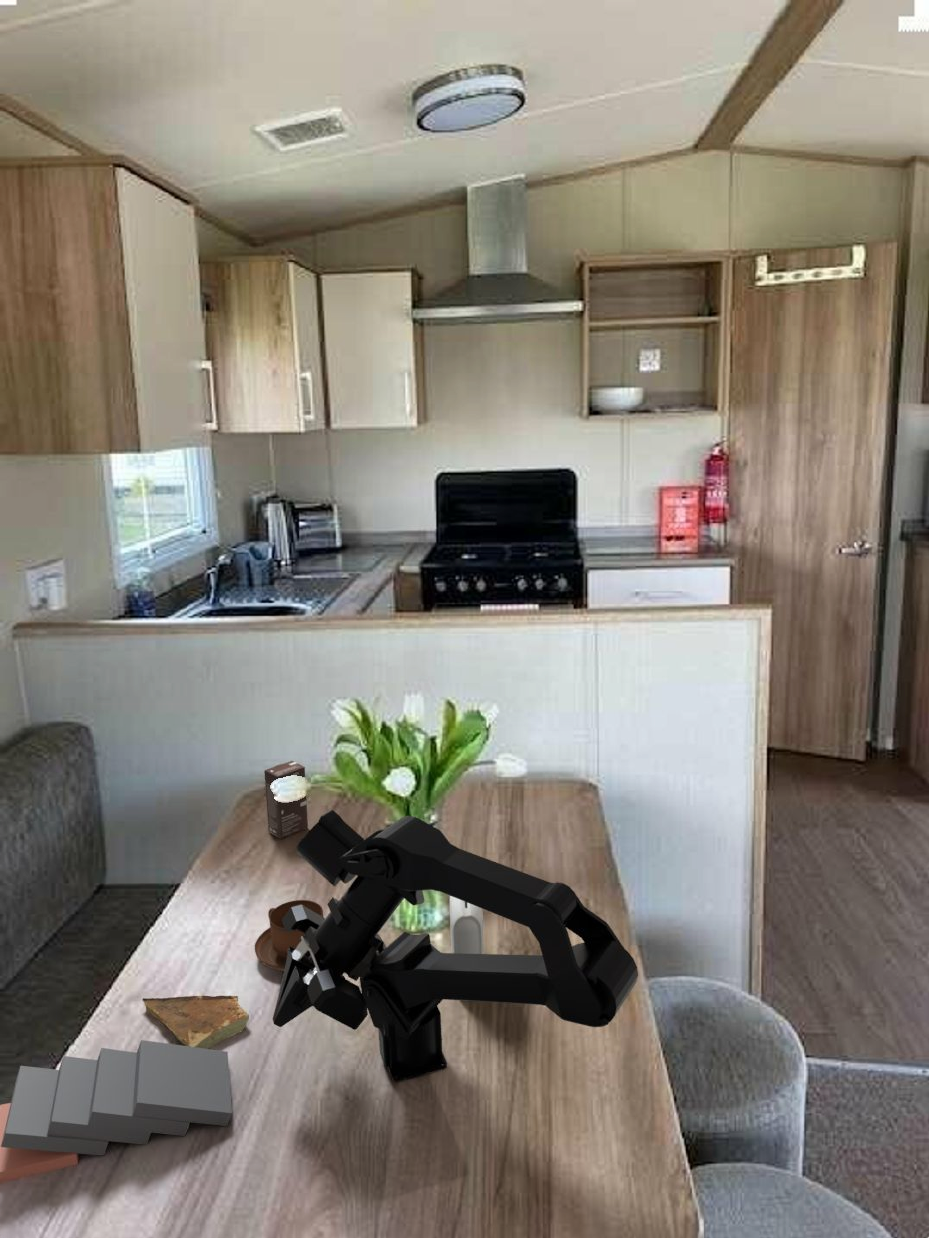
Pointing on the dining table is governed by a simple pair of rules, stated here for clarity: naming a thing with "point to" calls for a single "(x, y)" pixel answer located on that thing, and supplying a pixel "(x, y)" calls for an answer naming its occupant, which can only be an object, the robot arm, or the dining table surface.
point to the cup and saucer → (280, 935)
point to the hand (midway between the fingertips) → (276, 1023)
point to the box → (285, 815)
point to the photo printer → (466, 927)
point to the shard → (199, 1018)
